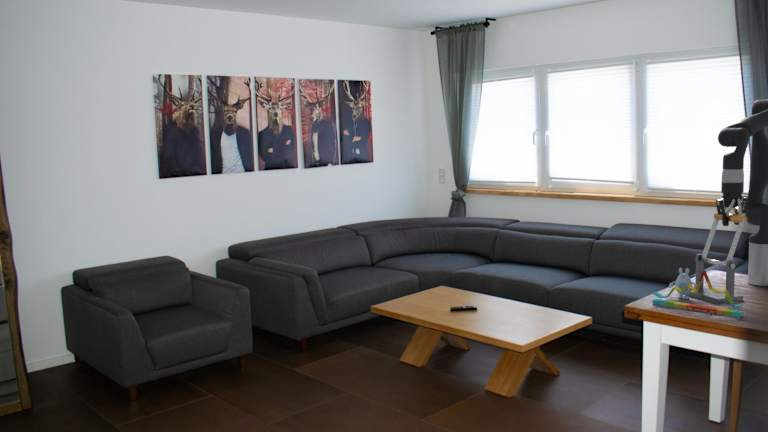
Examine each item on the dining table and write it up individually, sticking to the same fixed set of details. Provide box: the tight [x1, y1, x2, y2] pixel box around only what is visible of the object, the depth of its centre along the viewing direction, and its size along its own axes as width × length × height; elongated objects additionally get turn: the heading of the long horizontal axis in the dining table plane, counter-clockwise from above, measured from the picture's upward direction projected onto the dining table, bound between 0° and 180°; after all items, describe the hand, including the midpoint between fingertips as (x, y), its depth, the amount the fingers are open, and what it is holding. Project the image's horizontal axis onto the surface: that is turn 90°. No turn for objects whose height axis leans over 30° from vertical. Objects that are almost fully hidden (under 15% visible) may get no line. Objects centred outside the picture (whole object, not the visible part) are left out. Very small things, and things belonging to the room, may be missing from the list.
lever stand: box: [687, 253, 744, 305], centre depth 262 cm, size 12×18×16 cm
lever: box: [700, 211, 748, 268], centre depth 261 cm, size 3×13×20 cm, turn 20°
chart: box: [652, 270, 743, 319], centre depth 246 cm, size 30×3×15 cm, turn 45°
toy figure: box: [668, 267, 697, 300], centre depth 263 cm, size 11×6×12 cm, turn 63°
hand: (731, 225), depth 262 cm, fingers open, 5 cm apart
